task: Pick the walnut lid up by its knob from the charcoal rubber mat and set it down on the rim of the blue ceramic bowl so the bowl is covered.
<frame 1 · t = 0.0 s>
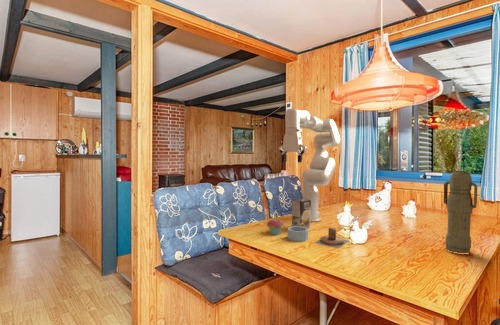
hand: (291, 162, 162), 37 cm above the table, tool pointing down, fingers open, 9 cm apart
coffee box: (301, 229, 160), on the table
bowl: (297, 239, 141), on the table
thermos: (457, 252, 126), on the table
cupcake: (274, 233, 151), on the table
mat: (332, 242, 136), on the table
lid: (332, 241, 136), resting on mat
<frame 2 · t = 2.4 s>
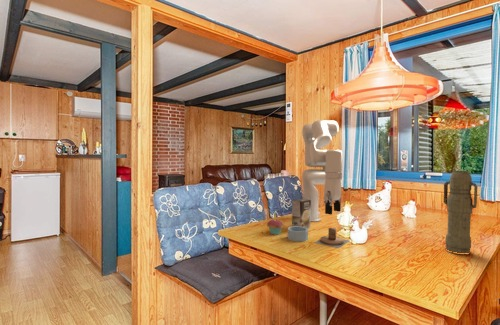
hand: (332, 212, 135), 14 cm above the table, tool pointing down, fingers open, 9 cm apart
nothing on the table moved.
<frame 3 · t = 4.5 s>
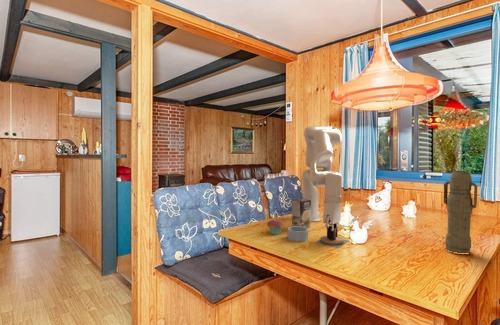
hand: (332, 237, 136), 2 cm above the table, tool pointing down, fingers closed on lid, 3 cm apart
lid: (332, 241, 136), resting on mat, touching gripper
everything else where it was.
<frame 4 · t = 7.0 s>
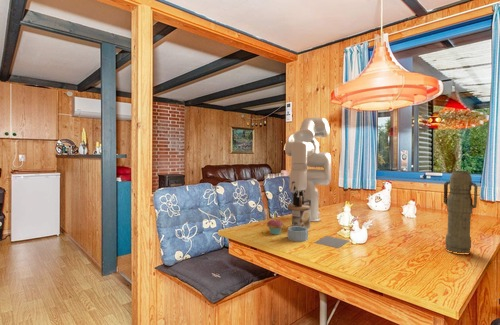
hand: (298, 204, 140), 17 cm above the table, tool pointing down, fingers closed on lid, 3 cm apart
lid: (298, 208, 140), point 15 cm above the table, touching gripper
everything else where it was.
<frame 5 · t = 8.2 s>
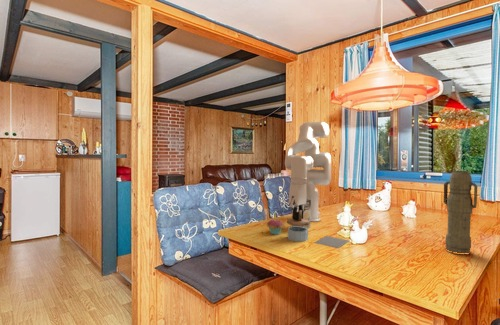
hand: (297, 218, 141), 10 cm above the table, tool pointing down, fingers closed on lid, 3 cm apart
lid: (297, 222, 141), point 8 cm above the table, touching gripper
everything else where it was.
when the fingers open (8 cm above the table, at t = 9.4 s): lid stays where it is, resting on bowl.
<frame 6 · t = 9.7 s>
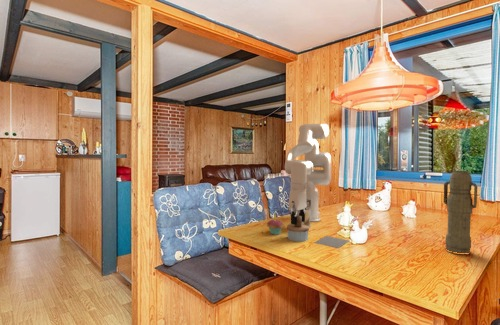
hand: (297, 222, 141), 8 cm above the table, tool pointing down, fingers open, 7 cm apart
lid: (297, 228, 141), point 5 cm above the table, touching bowl
everything else where it was.
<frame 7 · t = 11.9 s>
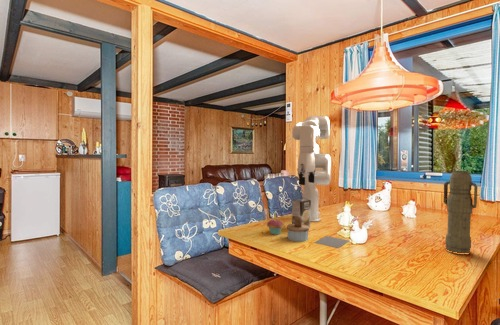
hand: (306, 183, 147), 26 cm above the table, tool pointing down, fingers open, 9 cm apart
nothing on the table moved.
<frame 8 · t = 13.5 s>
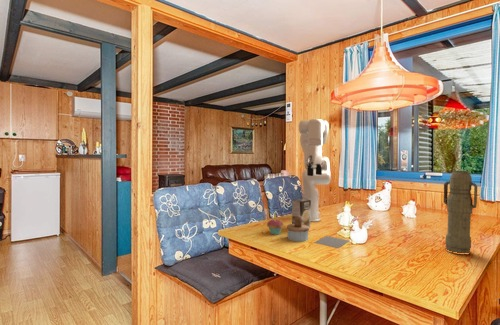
hand: (314, 175, 153), 30 cm above the table, tool pointing down, fingers open, 9 cm apart
nothing on the table moved.
at the end: lid 0.1 cm from the bowl (horizontally); lid 0.1 cm off-centre on the bowl, point 5.0 cm above the bowl's base; lid tilted 0° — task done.
